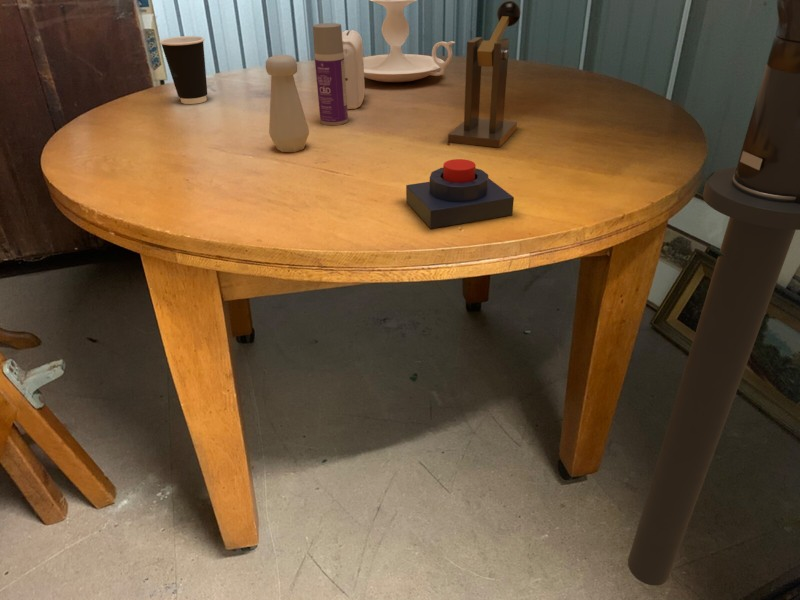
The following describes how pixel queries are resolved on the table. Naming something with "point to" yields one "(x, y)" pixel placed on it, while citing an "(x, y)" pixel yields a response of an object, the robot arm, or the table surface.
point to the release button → (459, 171)
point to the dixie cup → (187, 67)
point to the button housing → (458, 200)
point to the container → (330, 73)
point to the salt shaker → (285, 106)
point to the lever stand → (474, 127)
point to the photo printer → (353, 68)
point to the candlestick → (396, 62)
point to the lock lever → (498, 31)
